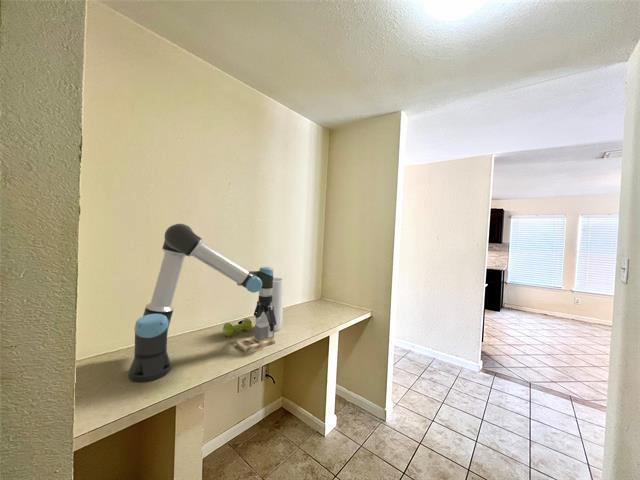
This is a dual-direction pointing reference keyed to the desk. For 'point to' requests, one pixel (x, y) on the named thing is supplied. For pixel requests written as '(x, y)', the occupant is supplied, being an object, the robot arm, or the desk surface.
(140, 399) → the desk surface
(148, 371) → the robot arm
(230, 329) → the dumbbell
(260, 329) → the block
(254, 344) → the board
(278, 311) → the vase
